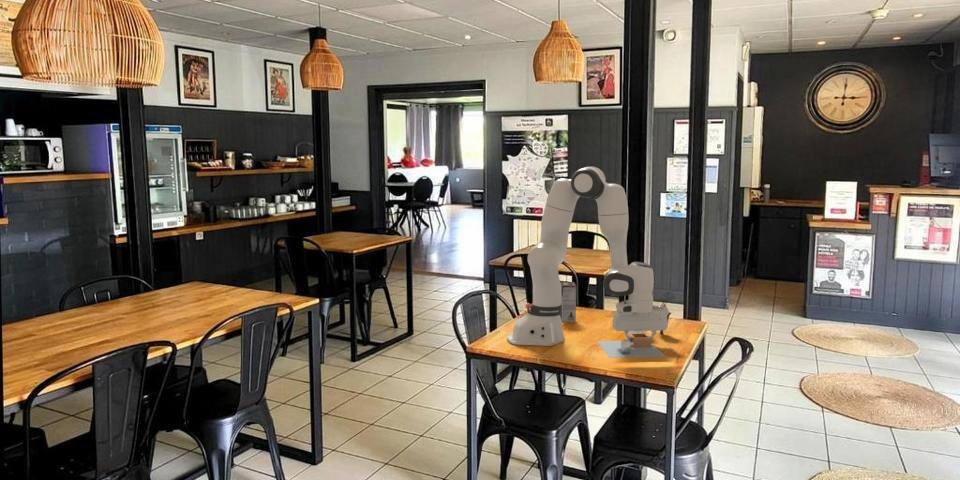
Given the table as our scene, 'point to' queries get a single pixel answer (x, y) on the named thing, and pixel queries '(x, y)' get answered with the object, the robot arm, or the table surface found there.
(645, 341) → the collar
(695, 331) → the table surface
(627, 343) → the piston
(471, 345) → the table surface
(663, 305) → the sundae
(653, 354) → the plate
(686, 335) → the table surface
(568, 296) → the coffee box
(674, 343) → the table surface
